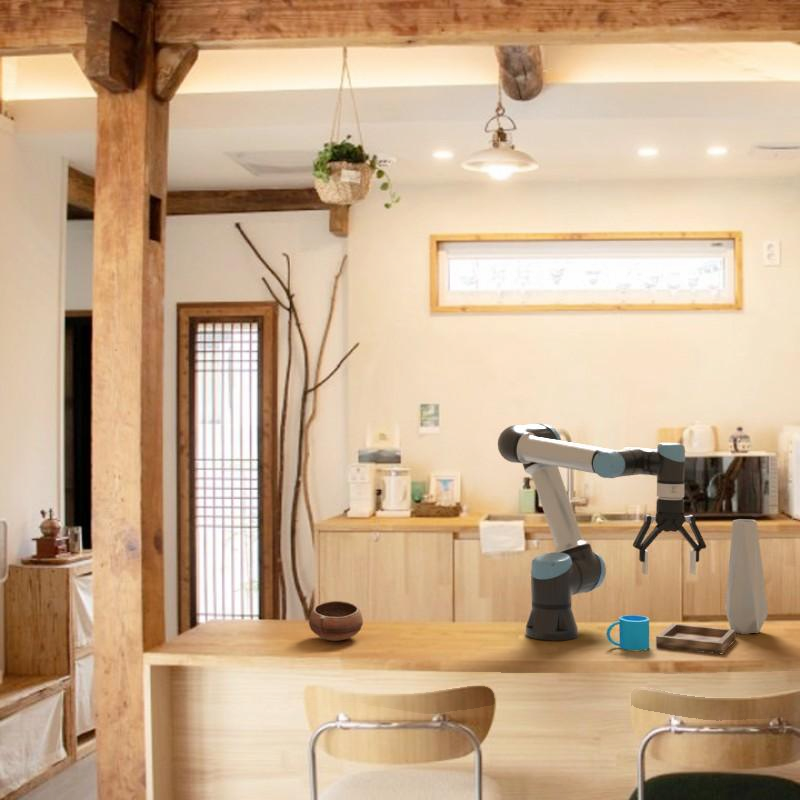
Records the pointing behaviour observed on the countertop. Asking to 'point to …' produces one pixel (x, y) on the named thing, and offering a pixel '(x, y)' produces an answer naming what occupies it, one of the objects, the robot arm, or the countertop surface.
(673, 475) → the robot arm
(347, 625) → the bowl
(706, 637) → the tray
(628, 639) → the mug
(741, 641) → the countertop surface
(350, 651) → the countertop surface
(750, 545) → the vase
